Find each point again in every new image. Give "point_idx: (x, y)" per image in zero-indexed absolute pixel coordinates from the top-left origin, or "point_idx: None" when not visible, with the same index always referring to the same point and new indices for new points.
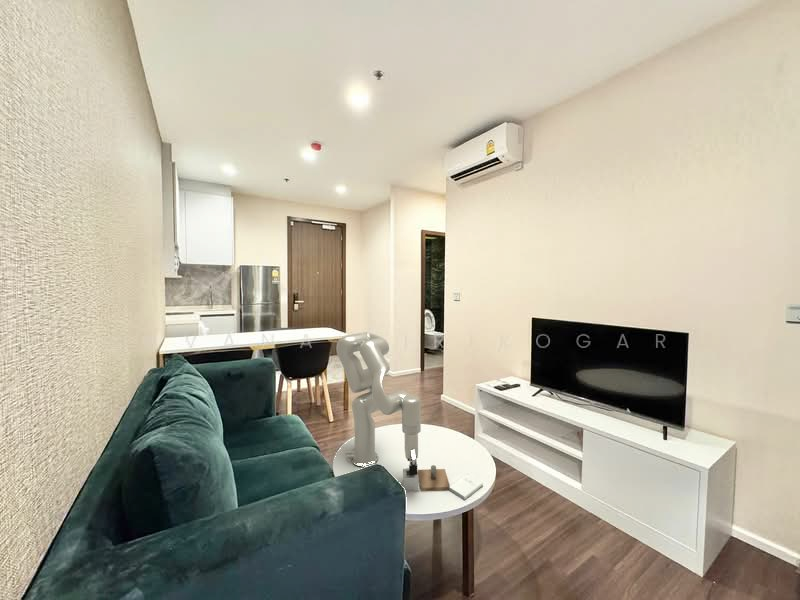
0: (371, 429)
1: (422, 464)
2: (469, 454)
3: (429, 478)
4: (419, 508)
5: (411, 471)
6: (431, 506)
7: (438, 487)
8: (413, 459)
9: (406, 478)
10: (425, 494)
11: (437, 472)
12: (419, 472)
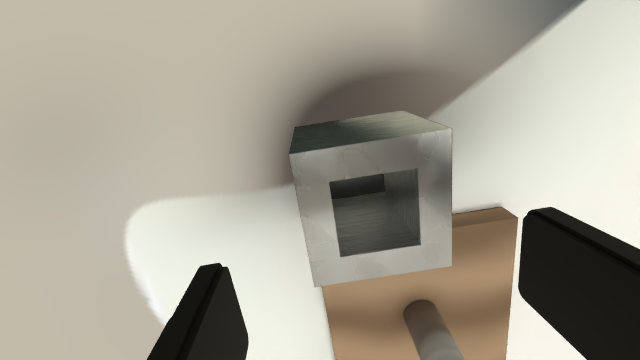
0: None
1: None
2: None
3: (414, 292)
4: (161, 236)
5: (159, 337)
6: None
7: (332, 338)
8: None
9: (294, 179)
10: (289, 261)
11: (474, 331)
12: (483, 230)
